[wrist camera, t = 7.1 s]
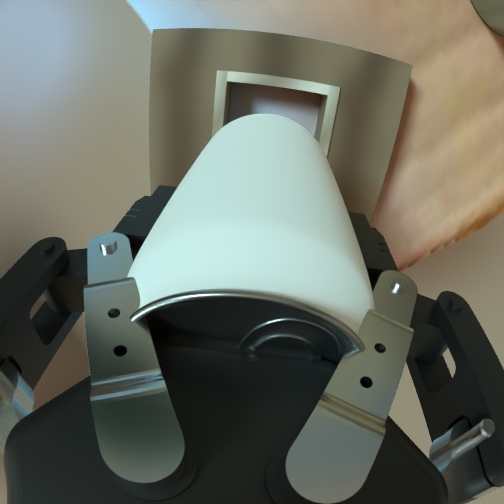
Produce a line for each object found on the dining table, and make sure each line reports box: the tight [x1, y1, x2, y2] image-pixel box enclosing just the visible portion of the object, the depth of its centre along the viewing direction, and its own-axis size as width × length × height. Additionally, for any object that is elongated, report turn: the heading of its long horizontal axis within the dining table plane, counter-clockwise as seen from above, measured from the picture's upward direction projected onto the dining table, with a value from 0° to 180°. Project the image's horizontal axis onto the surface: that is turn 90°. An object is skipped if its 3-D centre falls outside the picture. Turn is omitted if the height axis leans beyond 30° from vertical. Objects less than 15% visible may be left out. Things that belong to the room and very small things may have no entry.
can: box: [127, 114, 375, 365], centre depth 11 cm, size 6×6×12 cm
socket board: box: [149, 28, 412, 224], centre depth 25 cm, size 20×18×3 cm
